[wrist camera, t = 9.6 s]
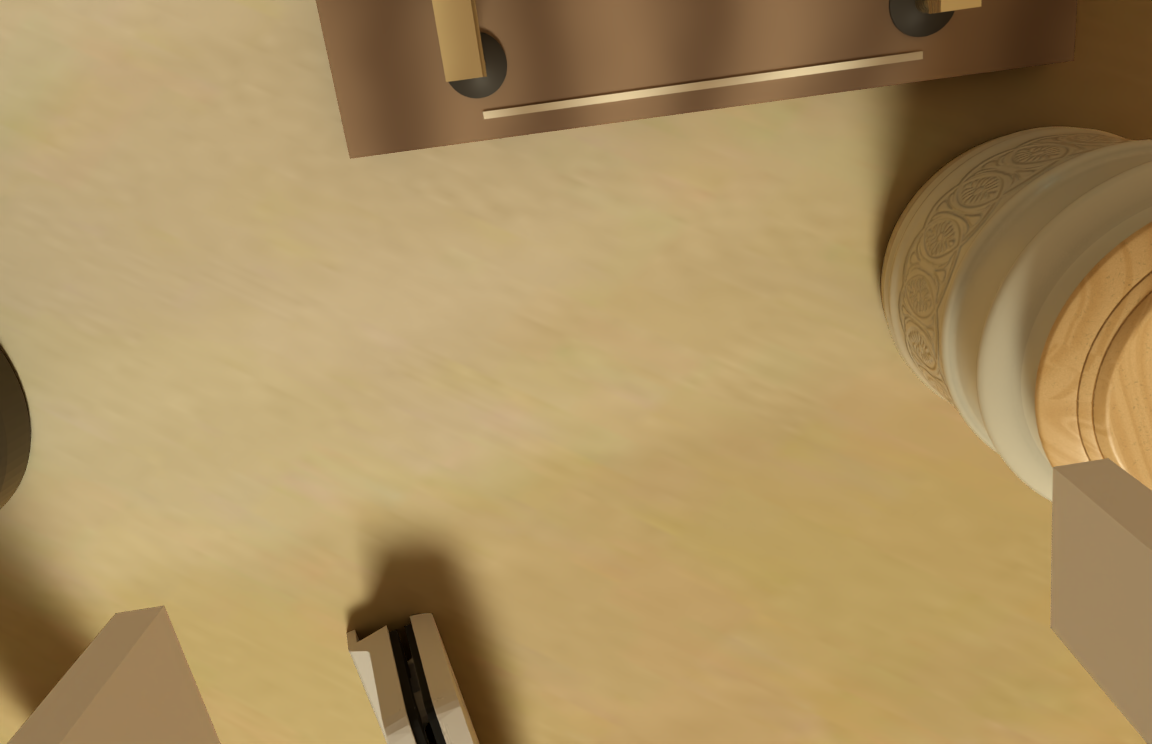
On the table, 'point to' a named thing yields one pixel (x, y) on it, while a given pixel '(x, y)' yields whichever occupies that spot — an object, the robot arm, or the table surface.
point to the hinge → (412, 685)
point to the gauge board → (645, 58)
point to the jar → (1034, 297)
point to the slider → (945, 5)
